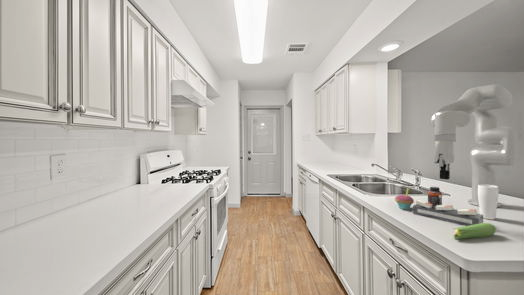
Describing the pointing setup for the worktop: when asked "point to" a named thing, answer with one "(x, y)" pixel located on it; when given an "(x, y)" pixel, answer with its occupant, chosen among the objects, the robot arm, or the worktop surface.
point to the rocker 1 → (424, 203)
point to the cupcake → (404, 201)
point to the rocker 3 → (467, 211)
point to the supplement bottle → (435, 196)
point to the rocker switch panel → (448, 215)
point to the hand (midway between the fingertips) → (444, 178)
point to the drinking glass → (488, 200)
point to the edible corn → (475, 231)
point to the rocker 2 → (444, 207)
